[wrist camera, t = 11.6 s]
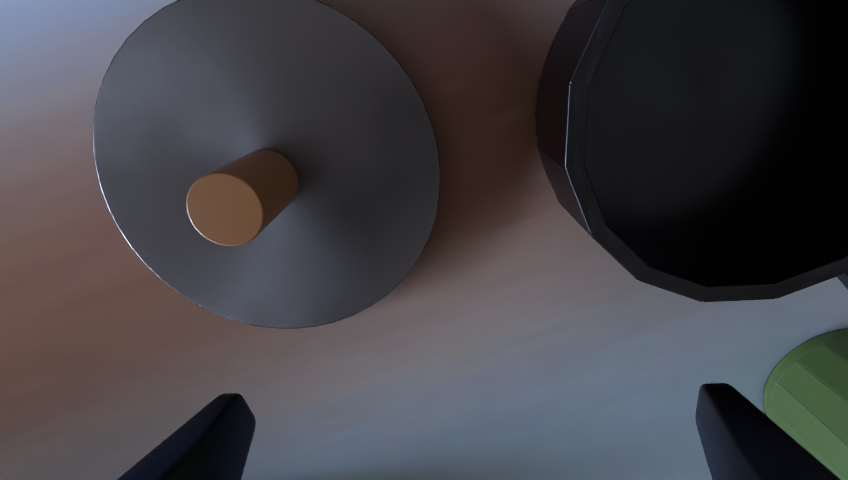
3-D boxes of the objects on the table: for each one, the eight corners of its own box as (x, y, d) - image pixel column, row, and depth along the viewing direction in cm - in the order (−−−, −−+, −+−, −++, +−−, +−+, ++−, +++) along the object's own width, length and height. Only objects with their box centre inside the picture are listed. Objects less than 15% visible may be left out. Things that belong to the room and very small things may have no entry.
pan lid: (310, 366, 22) (278, 448, 17) (53, 186, 19) (-72, 226, 14) (508, 160, 18) (535, 194, 14) (228, -102, 15) (137, -178, 11)
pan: (703, 338, 21) (768, 404, 17) (417, 68, 17) (413, 68, 13) (967, 138, 18) (1127, 159, 14) (687, -259, 14) (796, -396, 10)
